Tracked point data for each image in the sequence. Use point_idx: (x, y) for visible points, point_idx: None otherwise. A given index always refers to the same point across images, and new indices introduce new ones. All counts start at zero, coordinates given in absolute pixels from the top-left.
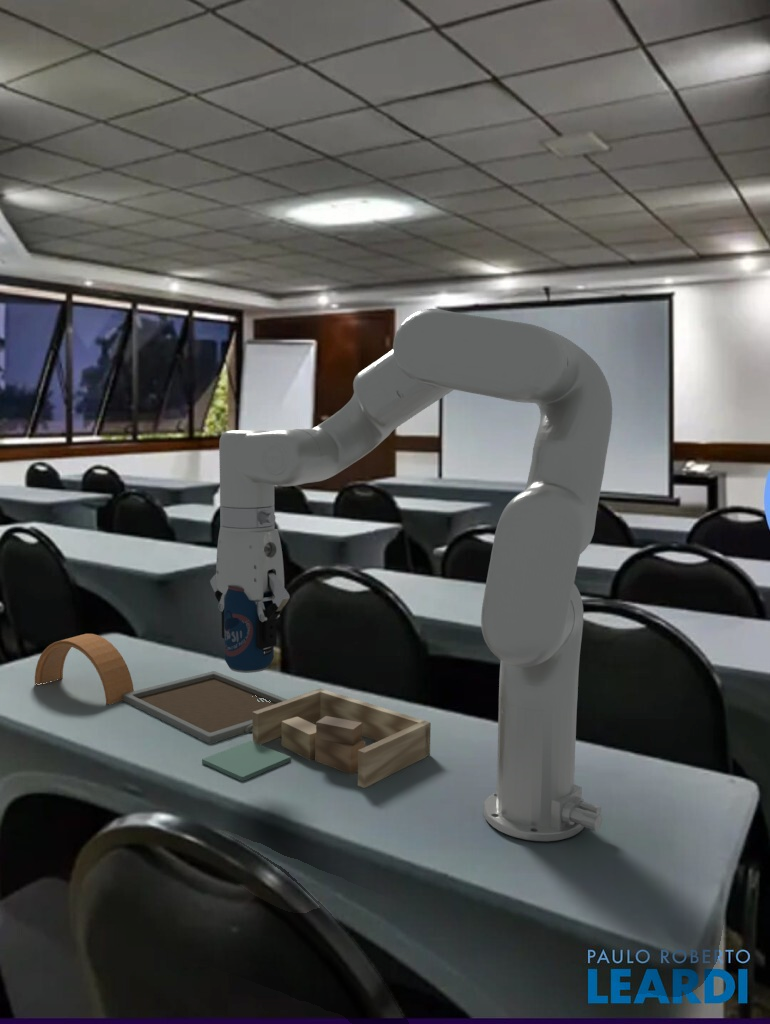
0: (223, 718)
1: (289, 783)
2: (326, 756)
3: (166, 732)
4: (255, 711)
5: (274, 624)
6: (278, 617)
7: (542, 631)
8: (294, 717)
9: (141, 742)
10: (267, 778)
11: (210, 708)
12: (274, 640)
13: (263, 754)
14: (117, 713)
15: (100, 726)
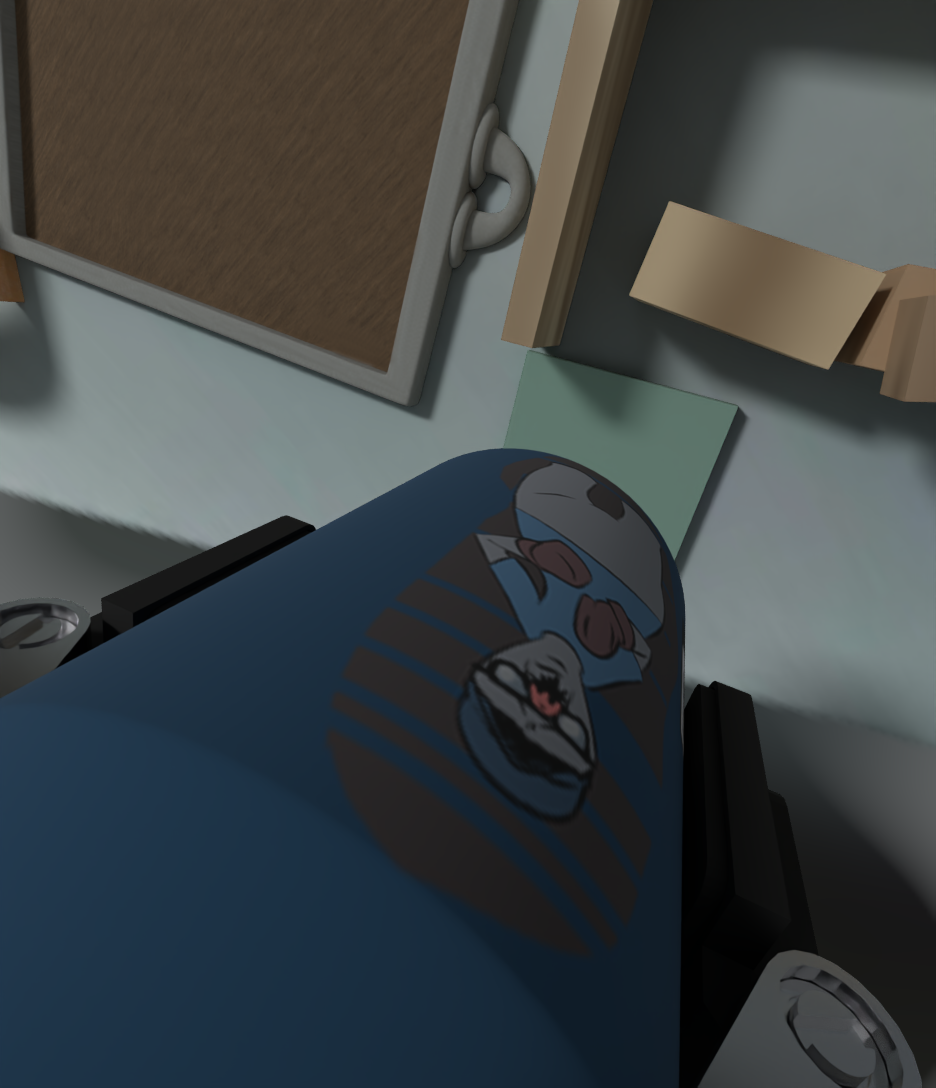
0: (319, 200)
1: (815, 557)
2: None
3: (267, 392)
4: (508, 327)
5: (808, 949)
6: (875, 1010)
7: None
8: (663, 221)
9: (269, 478)
10: (724, 550)
11: (227, 145)
12: (775, 793)
13: (632, 430)
14: (84, 342)
15: (127, 437)
